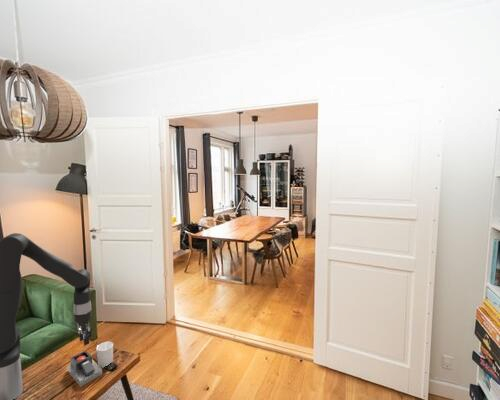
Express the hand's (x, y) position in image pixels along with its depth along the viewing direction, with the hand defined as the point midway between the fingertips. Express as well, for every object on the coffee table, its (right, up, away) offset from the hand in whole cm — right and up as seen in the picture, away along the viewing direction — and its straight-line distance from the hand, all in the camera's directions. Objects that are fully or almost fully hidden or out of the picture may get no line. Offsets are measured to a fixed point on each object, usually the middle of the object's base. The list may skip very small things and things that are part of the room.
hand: (84, 342), depth 132 cm
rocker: (+2, -12, -1) cm, 13 cm away
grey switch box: (-1, -17, +3) cm, 17 cm away
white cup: (+6, -17, +9) cm, 20 cm away
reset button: (-4, -12, +4) cm, 14 cm away
